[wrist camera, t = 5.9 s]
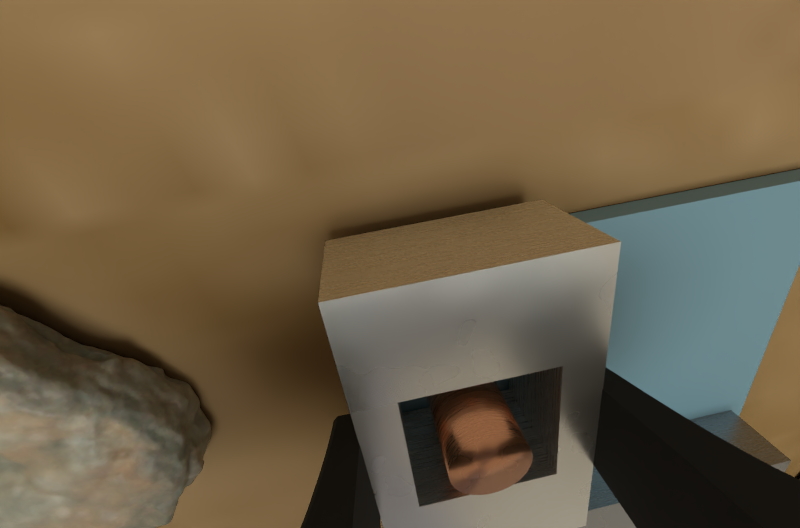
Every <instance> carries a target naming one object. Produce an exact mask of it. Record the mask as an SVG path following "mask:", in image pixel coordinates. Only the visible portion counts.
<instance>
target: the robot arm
mask: <svg viewBox="0 0 800 528" xmlns="http://www.w3.org/2000/svg"><path fill="white" fill-rule="evenodd" d="M593 465H594V466H595V468H596V469H597V471H598V472H599V474H600V475H601V477H602V478H603V480H604V481H605V483H606V484H607V486H608V487H609V489H610V490H611V492H612V493H613V494H614V496H615V497H616V499H617V500H618V502H619V503H620V505H621V506H622V508H623V509H624V511H625V512H626V513H627V515H628V516H629V518H630V519H631V521H632V522H633V524H634V525H635V527H636V528H800V480H798V479H796V478H794V477H792V476H790V475H788V474H786V473H785V472H783V471H781V470H779V469H777V468H775V467H773V466H771V465H769V464H767V463H765V462H763V461H761V460H759V459H757V458H756V457H754V456H752V455H750V454H748V453H746V452H745V451H743V450H741V449H739V448H738V447H736V446H734V445H732V444H730V443H729V442H727V441H725V440H723V439H721V438H720V437H718V436H716V435H714V434H713V433H711V432H709V431H707V430H706V429H704V428H702V427H701V426H699V425H697V424H696V423H694V422H692V421H691V420H689V419H687V418H686V417H684V416H682V415H681V414H679V413H677V412H676V411H674V410H672V409H671V408H669V407H668V406H666V405H664V404H663V403H661V402H660V401H658V400H656V399H655V398H653V397H652V396H650V395H648V394H647V393H645V392H644V391H642V390H641V389H639V388H637V387H636V386H634V385H633V384H631V383H630V382H628V381H627V380H625V379H623V378H622V377H620V376H619V375H617V374H616V373H614V372H613V371H611V370H609V369H608V368H605V376H604V384H603V389H602V397H601V405H600V413H599V422H598V430H597V438H596V446H595V455H594V463H593ZM301 528H381V525H380V513H379V510H378V506H377V503H376V499H375V496H374V492H373V489H372V485H371V482H370V479H369V475H368V472H367V468H366V465H365V461H364V458H363V454H362V451H361V447H360V445H359V442H358V439H357V435H356V432H355V428H354V425H353V421H352V418H351V415H350V414H347V415H342V416H338V417H336V419H335V420H334V422H333V427H332V432H331V436H330V440H329V444H328V447H327V451H326V455H325V458H324V461H323V465H322V468H321V471H320V475H319V478H318V480H317V483H316V486H315V489H314V492H313V495H312V498H311V501H310V504H309V507H308V510H307V513H306V515H305V518H304V521H303V523H302V526H301Z"/></svg>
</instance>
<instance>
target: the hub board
mask: <svg viewBox="0 0 800 528" xmlns="http://www.w3.org/2000/svg"><path fill="white" fill-rule="evenodd" d="M570 215H572V216H574V217H576V218H578V219H580V220H581V221H583V222H585V223H587V224H589V225H591V226H593V227H595V228H596V229H598V230H600V231H602V232H604V233H606V234H608V235H610V236H611V237H613V238H615V239H617V240H619V241H621V247H620V255H619V263H618V271H617V279H616V287H615V295H614V304H613V312H612V320H611V328H610V336H609V344H608V352H607V360H606V368H608V369H609V370H611V371H613V372H614V373H616V374H617V375H619V376H620V377H622V378H623V379H625V380H627V381H628V382H630V383H631V384H633V385H634V386H636V387H637V388H639V389H641V390H642V391H644V392H645V393H647V394H648V395H650V396H652V397H653V398H655V399H656V400H658V401H660V402H661V403H663V404H664V405H666V406H668V407H669V408H671V409H672V410H674V411H676V412H677V413H679V414H681V415H682V416H684V417H686V418H687V419H689V420H691V419H695V418H699V417H703V416H707V415H712V414H716V413H720V412H724V411H729V410H732V411H733V412H734V413H735V414H736V415H738V416H739V415H740V412H741V410H742V407H743V405H744V402H745V400H746V397H747V395H748V392H749V390H750V387H751V385H752V382H753V380H754V377H755V375H756V372H757V370H758V367H759V365H760V362H761V360H762V357H763V355H764V352H765V350H766V347H767V345H768V342H769V340H770V337H771V335H772V332H773V330H774V327H775V325H776V322H777V320H778V317H779V315H780V312H781V310H782V307H783V305H784V302H785V300H786V297H787V295H788V292H789V290H790V287H791V285H792V282H793V280H794V277H795V275H796V272H797V270H798V267H799V265H800V169H796V170H791V171H786V172H781V173H776V174H771V175H766V176H761V177H755V178H750V179H745V180H740V181H735V182H730V183H725V184H719V185H714V186H709V187H704V188H699V189H694V190H689V191H684V192H678V193H673V194H668V195H663V196H658V197H653V198H648V199H643V200H637V201H632V202H627V203H622V204H617V205H612V206H607V207H601V208H596V209H591V210H586V211H581V212H576V213H571V214H570ZM496 383H497V385H498V387H499V389H500V391H504V390H508V389H509V378H507V379H503V380H498V381H496ZM400 405H401V410H402V413H405V412H410V411H414V410H419V409H423V408H428V407H429V403H428V399H427V396H426V397H421V398H417V399H412V400H408V401H403V402H400Z"/></svg>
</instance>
